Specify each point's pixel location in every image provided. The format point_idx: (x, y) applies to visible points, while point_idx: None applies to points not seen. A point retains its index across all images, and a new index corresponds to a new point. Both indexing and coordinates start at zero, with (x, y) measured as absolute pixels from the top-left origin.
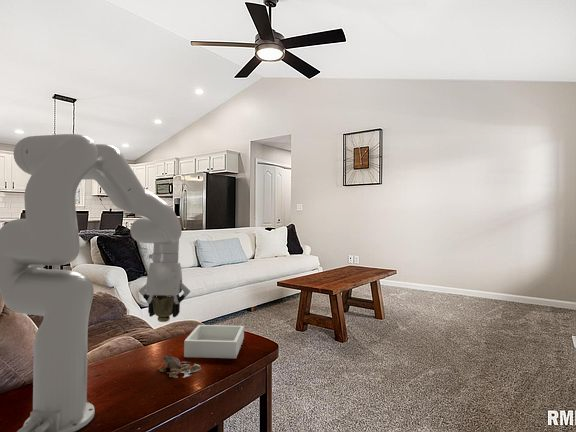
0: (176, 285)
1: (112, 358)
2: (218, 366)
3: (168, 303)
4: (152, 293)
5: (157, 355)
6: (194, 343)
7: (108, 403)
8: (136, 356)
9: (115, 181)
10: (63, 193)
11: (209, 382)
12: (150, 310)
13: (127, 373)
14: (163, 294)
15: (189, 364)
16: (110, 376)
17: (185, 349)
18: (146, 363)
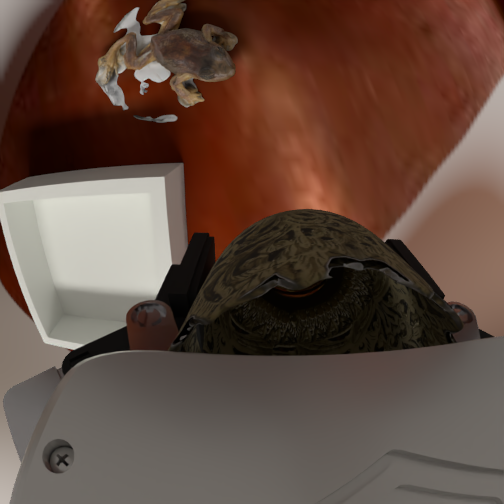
0: (23, 496)
1: (440, 156)
2: (54, 107)
3: (228, 267)
4: (493, 352)
5: (297, 176)
6: (122, 176)
7: None
8: (372, 168)
9: None
10: None
11: (62, 8)
12: (411, 261)
13: (345, 22)
14: (325, 365)
15: (126, 65)
16: (388, 11)
17: (169, 168)
18: (313, 99)
